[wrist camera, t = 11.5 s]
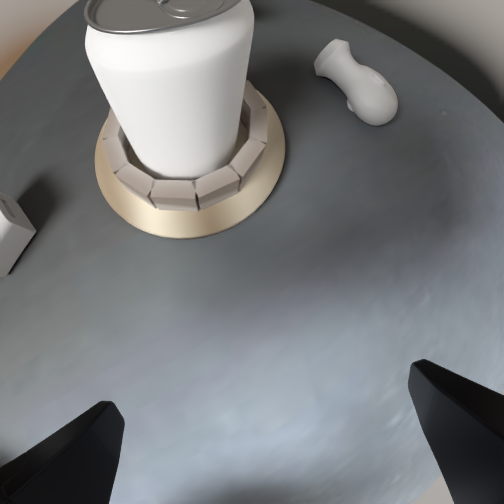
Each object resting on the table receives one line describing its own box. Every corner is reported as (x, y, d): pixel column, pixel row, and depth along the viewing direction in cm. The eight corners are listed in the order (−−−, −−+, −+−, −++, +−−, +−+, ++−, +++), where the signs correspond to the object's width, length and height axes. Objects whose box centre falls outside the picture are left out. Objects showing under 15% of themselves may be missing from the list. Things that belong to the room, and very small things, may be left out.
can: (191, 208, 18) (155, 69, 6) (119, 153, 17) (43, 20, 6) (255, 135, 19) (297, -17, 7) (183, 90, 19) (170, -53, 7)
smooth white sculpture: (386, 130, 23) (357, 140, 20) (333, 65, 23) (297, 66, 21) (419, 104, 19) (395, 108, 16) (359, 35, 19) (324, 30, 17)
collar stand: (137, 275, 17) (121, 271, 14) (81, 121, 18) (65, 98, 15) (316, 187, 19) (334, 167, 16) (231, 58, 20) (234, 30, 17)
